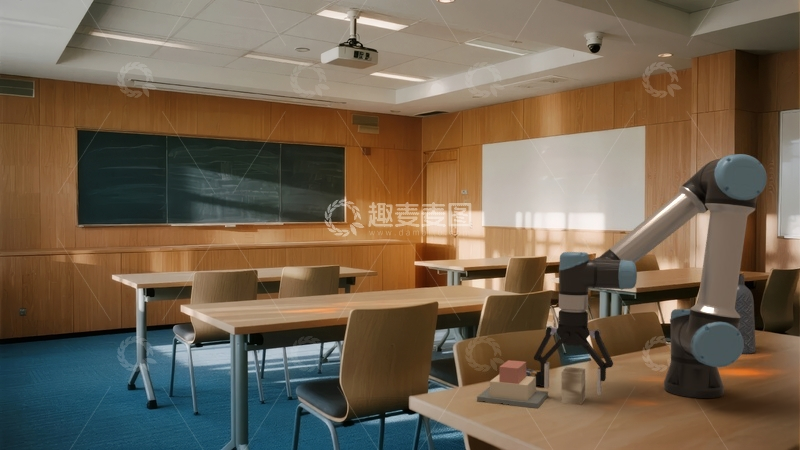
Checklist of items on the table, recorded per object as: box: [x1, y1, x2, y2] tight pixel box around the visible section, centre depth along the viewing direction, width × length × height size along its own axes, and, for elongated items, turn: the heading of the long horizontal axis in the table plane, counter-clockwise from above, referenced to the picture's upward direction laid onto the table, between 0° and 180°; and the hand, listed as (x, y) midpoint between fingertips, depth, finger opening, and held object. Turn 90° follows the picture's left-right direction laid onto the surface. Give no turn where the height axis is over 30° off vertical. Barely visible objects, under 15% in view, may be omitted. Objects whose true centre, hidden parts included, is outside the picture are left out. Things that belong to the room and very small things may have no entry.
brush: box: [526, 368, 544, 386], centre depth 188 cm, size 6×4×15 cm
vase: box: [735, 274, 757, 355], centre depth 235 cm, size 12×12×28 cm
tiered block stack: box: [476, 359, 549, 409], centre depth 170 cm, size 16×13×9 cm
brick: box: [561, 366, 586, 406], centre depth 168 cm, size 5×7×8 cm
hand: (572, 390), depth 168 cm, fingers open, 13 cm apart
